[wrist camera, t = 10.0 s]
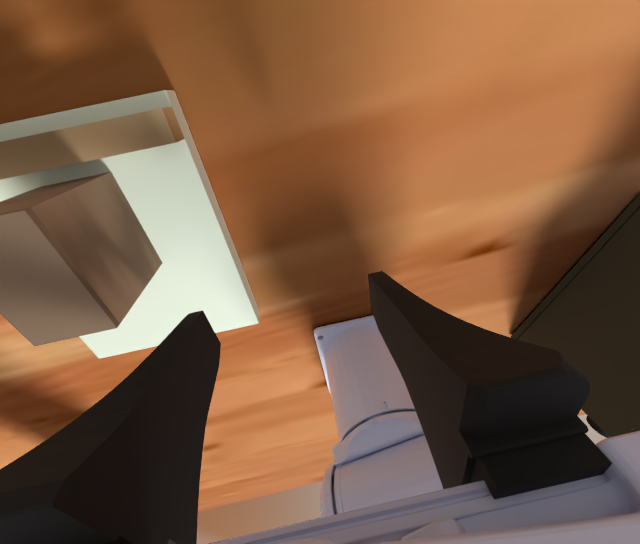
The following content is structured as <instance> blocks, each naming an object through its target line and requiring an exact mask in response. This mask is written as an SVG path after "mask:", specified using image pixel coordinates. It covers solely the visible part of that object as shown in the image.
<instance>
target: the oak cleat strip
mask: <svg viewBox="0 0 640 544" xmlns="http://www.w3.org/2000/svg"><path fill="white" fill-rule="evenodd" d="M183 139H185V138H184V136H183V133H182V131H181V128H180V126H179V123H178V121H177V118H176V116H175V113H174V111H173V108H172V107H168V108H160V109H155V110H150V111H145V112H141V113H136V114H131V115H126V116H122V117H117V118H112V119H107V120H102V121H98V122H93V123H88V124H83V125H79V126H74V127H69V128H64V129H59V130H55V131H50V132H45V133H40V134H36V135H31V136H26V137H21V138H16V139H12V140H7V141H2V142H0V180H1V179H6V178H11V177H16V176H20V175H25V174H30V173H34V172H39V171H44V170H49V169H53V168H58V167H63V166H68V165H72V164H77V163H82V162H87V161H91V160H96V159H101V158H106V157H110V156H115V155H120V154H124V153H129V152H134V151H139V150H143V149H148V148H153V147H158V146H162V145H167V144H172V143H176V142H179V141H181V140H183Z"/></svg>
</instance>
